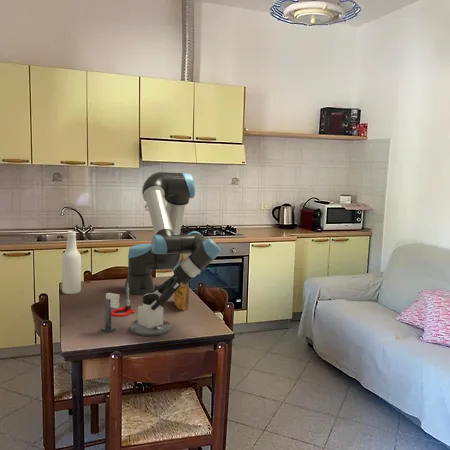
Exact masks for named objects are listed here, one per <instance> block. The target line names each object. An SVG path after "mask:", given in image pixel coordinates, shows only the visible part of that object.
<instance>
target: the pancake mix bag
mask: <svg viewBox="0 0 450 450" xmlns="http://www.w3.org/2000/svg"><path fill="white" fill-rule="evenodd" d="M190 254H192V253H188V254H180V260H179V265H181V263H182V262H183V261H184V260H185V259H186V258H187V257H188V256H189V255H190ZM179 285H180V287H179V288H178V289H177V290H176V291H175V292H174V293H173V296H174V297H173V302H174V305H175V306H176V307H177V309H178V311H187V310H188V309H189V301H190V300H189V299H190V282H189V283H188V284H187V285H185V284H183V283H182V282H181V283H180V284H179Z"/></svg>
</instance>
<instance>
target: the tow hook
mask: <svg viewBox="0 0 450 450" xmlns="http://www.w3.org/2000/svg"><path fill="white" fill-rule="evenodd" d="M125 294H126V300H125V306H122V307H120V308H114V309H111V317H117V318H119V317H120V318H123V317H127V316H129V315H131V314H133V313H135V309H133V308H132V305H131V300H130V294H129V286H128V283H127V287H126V292H125ZM117 312H118V313H117ZM119 312H124V313H119Z"/></svg>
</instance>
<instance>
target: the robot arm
mask: <svg viewBox="0 0 450 450" xmlns="http://www.w3.org/2000/svg"><path fill="white" fill-rule="evenodd" d="M194 179H195V178H194V177H193V175H192V174H191V173H187V172H166V171H165V172H164V171H159V172H155V173H153V174H151V175H150V176H148V177H147V178H146V180H145V181H144V182H143V186H142V191H141V192H142V193H141V194H142V198H143V200H144V201H145V202H146V205H147V208H148V212H149V217H150V222H151V225H152V228H153V233H154V235H153V236H152V237H151V243H140V244H134V245H132V246H131V247H129V248H128V253H127V254H128V255H127V264H128V265H127V278H126V281H125V284H124V286H123V287H124V289H123V292H124V293H126V287H127V283H128V286H129V295H139V296H140V295H145V294H148V293H154V294H157V295H158V296H159V298H158V299H157V298H156V299H155V301H154V302H153V303H152V304H151V305H150V306H149V307H148V308H147V309H145V310H144V311H143V313H144V314H146V315H147V316H148V317H149V316H150V315H151V314H152V313H153V312H154V311H155V310H156V309H158V308H159V307H160V306H161V307H163V306H164V305H165V304H166V303H167V301H168V300H169V299H170V298H171V297H172V296H174V294H175V291H176V290H177V289H178V288H179V287H180V285H179V284H180V283H181V282H182V283H183V284H185V285H187V284H188V283H189V284H190V282H192V280H193V278H195V277H196V276H197V275H201V272H202V270H204V269H205V268H206V267H208V265H209V264H210V263H212V262H213V261H214V260H215V259H216V258H217V257H218V255H219V254H220V253H221V251H222V249H221V248H220V247H219V246H218V245H217V243H215V241H214V240H213V239H212V238H209V237H208V238H205V236H204V235H203V234H202V233H201V232H199V231H196V230H195V231H194V230H193V231H191V232H189V233H187V234H181V229H182V224H183V217H184V212H185V207H186V205H188V204H189V203H190V199H194V197H195V195H196V185H195V180H194ZM188 253H192V254H190V255H189V256H188V257H187V258H186V259H185V260H184V261H183V262H182V263H181V265H179V260H180V254H188ZM159 270H160V271H161V270H163V271H164V270H170V271H171V270H173V271H172V273H173V275H172V276H170V277H169V278H168V279H167V280H165V281H164V282H163V283H162V284H160V285H158V288H157V289H156V287H155V283H154V280H153V275H152V272H153V271H159Z"/></svg>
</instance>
